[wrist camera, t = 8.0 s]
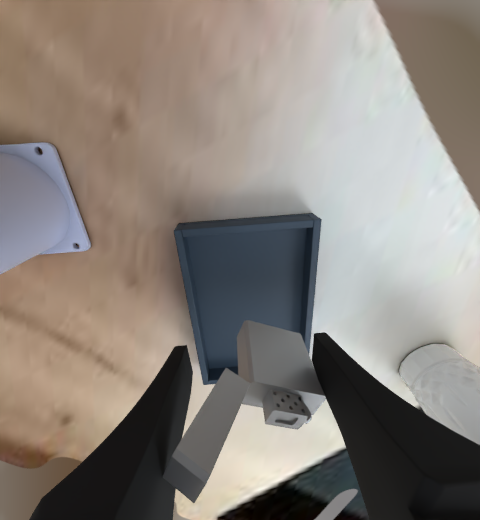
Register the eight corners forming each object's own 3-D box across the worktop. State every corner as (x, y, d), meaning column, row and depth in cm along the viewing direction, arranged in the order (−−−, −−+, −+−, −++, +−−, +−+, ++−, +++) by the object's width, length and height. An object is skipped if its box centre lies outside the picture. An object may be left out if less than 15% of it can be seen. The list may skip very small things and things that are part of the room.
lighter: (302, 334, 15) (369, 499, 8) (291, 352, 16) (343, 519, 9) (199, 307, 14) (168, 477, 7) (192, 328, 15) (157, 502, 7)
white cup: (385, 358, 27) (466, 461, 18) (453, 328, 25) (578, 424, 16) (403, 393, 30) (480, 497, 21) (464, 368, 28) (576, 468, 19)
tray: (204, 369, 26) (203, 385, 24) (178, 223, 19) (173, 230, 17) (301, 360, 26) (307, 375, 24) (312, 213, 19) (321, 219, 17)
